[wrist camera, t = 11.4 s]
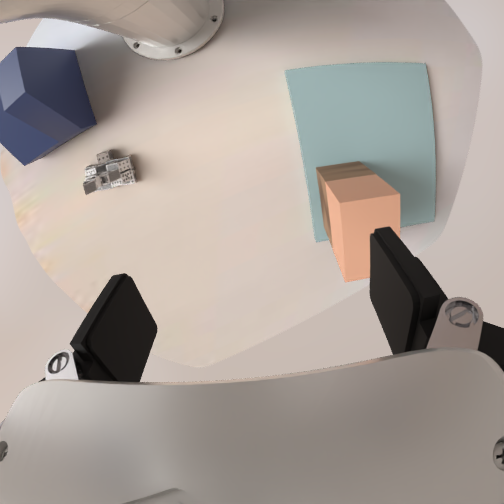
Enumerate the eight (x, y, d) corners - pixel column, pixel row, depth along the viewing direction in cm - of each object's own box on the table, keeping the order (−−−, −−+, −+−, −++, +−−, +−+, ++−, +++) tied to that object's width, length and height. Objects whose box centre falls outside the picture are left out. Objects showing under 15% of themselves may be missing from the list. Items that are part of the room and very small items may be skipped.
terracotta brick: (325, 181, 28) (339, 203, 23) (376, 174, 27) (400, 193, 22) (332, 250, 32) (345, 282, 27) (378, 242, 31) (398, 271, 26)
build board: (284, 71, 28) (285, 70, 27) (421, 64, 26) (425, 63, 25) (314, 238, 39) (316, 242, 38) (430, 217, 37) (434, 221, 36)
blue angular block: (40, 158, 34) (-13, 185, 23) (20, 92, 28) (-36, 105, 17) (97, 124, 32) (40, 142, 21) (74, 50, 26) (15, 47, 15)
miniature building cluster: (138, 115, 32) (110, 123, 25) (150, 179, 36) (126, 200, 29) (82, 132, 32) (48, 143, 26) (95, 189, 37) (66, 211, 30)
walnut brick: (315, 167, 33) (325, 181, 28) (359, 161, 32) (376, 174, 27) (323, 227, 37) (333, 250, 32) (363, 220, 36) (379, 242, 31)
